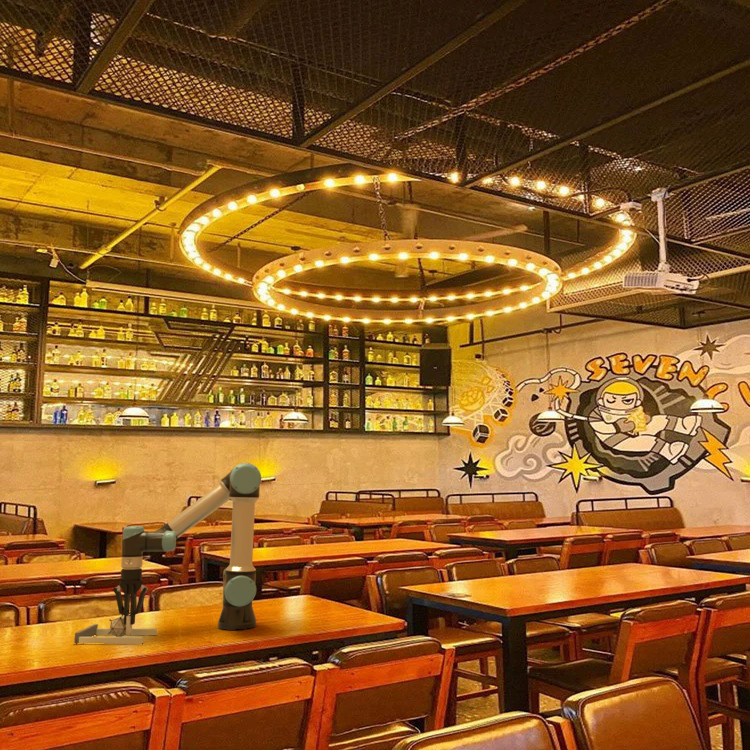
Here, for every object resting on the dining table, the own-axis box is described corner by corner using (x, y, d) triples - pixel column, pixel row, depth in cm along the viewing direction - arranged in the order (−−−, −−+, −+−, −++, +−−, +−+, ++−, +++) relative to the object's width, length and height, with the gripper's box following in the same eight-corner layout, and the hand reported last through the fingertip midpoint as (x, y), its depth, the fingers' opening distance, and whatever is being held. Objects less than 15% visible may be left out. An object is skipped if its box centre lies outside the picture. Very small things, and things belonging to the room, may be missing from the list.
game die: (120, 649, 275) (98, 634, 274) (131, 633, 283) (110, 618, 282) (130, 635, 271) (108, 619, 271) (141, 619, 279) (119, 604, 279)
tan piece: (157, 635, 282) (157, 624, 283) (141, 644, 266) (142, 633, 267) (92, 635, 283) (93, 624, 284) (73, 644, 267) (74, 633, 268)
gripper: (110, 569, 274) (107, 635, 271) (145, 569, 274) (142, 635, 270) (118, 567, 282) (115, 631, 278) (152, 567, 281) (149, 631, 277)
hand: (128, 633), depth 274 cm, fingers closed
